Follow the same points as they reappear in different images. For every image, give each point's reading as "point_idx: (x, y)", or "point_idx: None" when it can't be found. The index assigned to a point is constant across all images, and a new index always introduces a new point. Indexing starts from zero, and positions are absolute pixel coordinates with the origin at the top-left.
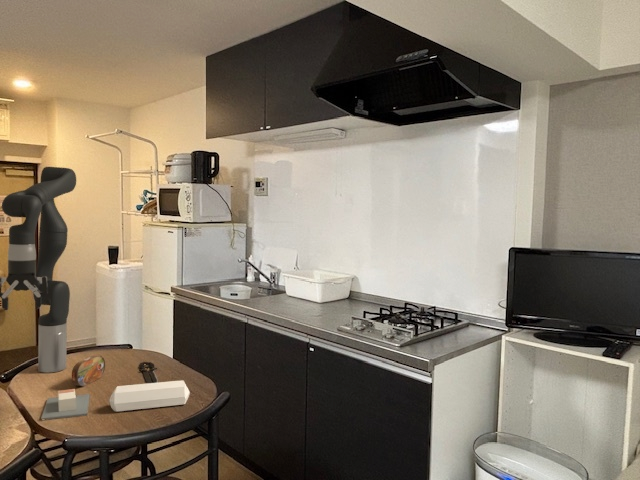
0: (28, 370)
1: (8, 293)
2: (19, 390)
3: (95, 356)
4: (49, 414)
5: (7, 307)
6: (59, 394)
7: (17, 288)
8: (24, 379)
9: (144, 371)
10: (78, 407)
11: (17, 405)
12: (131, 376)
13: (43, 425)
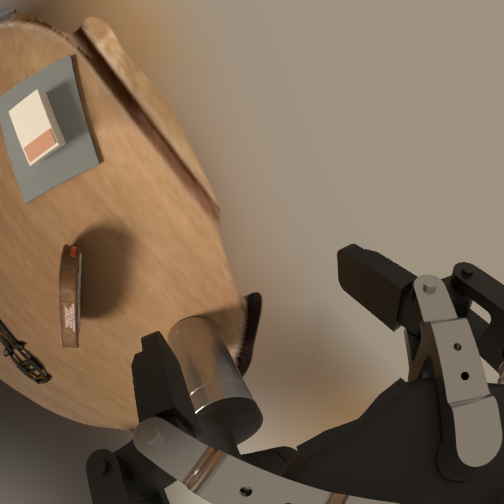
0: (234, 321)
1: (429, 318)
2: (193, 215)
3: (63, 335)
4: (59, 75)
5: (348, 271)
6: (47, 122)
7: (406, 404)
8: (217, 277)
9: (14, 343)
10: None
11: (153, 125)
12: (19, 321)
13: (60, 38)
